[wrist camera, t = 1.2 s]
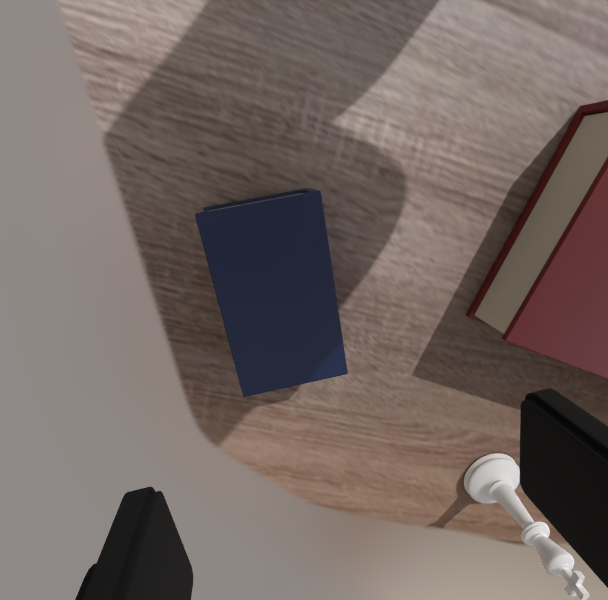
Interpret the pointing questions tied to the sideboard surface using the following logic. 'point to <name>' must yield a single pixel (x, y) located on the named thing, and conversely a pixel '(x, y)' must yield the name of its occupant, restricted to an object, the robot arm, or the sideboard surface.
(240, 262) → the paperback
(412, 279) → the sideboard surface
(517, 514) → the chess piece
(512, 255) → the hardback
